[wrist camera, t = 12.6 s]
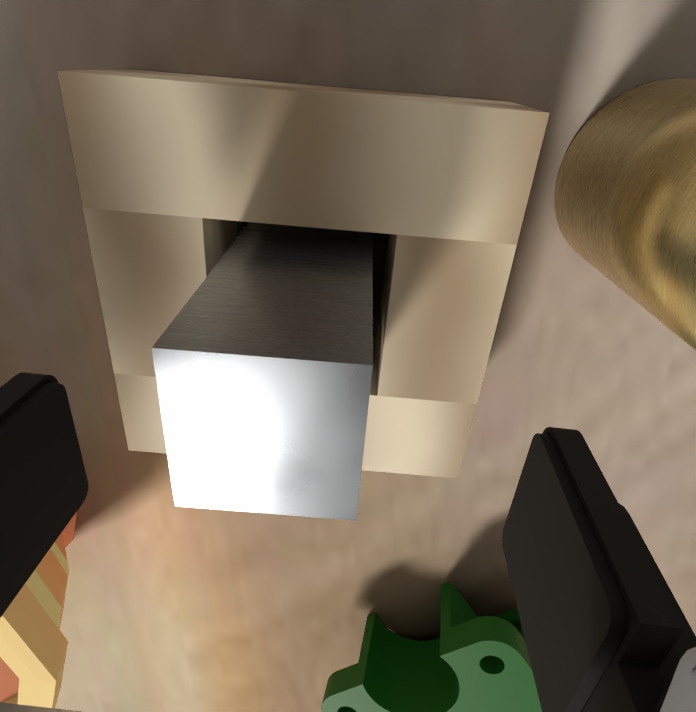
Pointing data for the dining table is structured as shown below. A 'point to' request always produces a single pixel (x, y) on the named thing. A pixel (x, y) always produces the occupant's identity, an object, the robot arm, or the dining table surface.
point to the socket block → (308, 225)
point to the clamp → (440, 667)
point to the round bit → (638, 198)
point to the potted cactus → (36, 632)
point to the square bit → (272, 375)
